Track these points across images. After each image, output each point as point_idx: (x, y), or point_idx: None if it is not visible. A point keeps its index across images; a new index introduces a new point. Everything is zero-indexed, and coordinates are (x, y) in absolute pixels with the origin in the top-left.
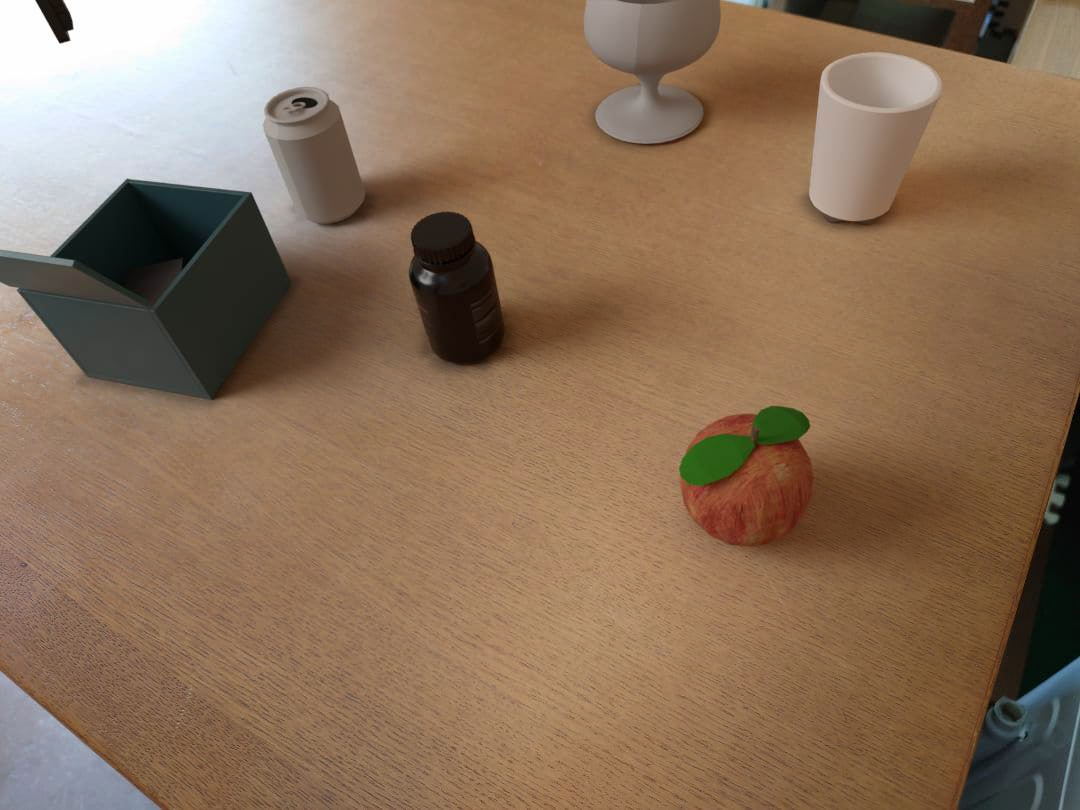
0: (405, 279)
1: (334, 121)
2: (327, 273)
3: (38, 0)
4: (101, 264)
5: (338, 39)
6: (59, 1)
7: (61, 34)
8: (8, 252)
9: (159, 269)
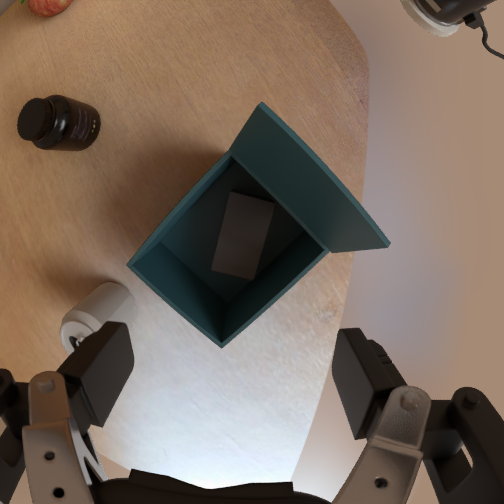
0: (92, 200)
1: (64, 316)
2: (133, 236)
3: (88, 359)
4: (268, 285)
5: (105, 439)
6: (73, 356)
7: (109, 324)
8: (320, 164)
9: (230, 266)
